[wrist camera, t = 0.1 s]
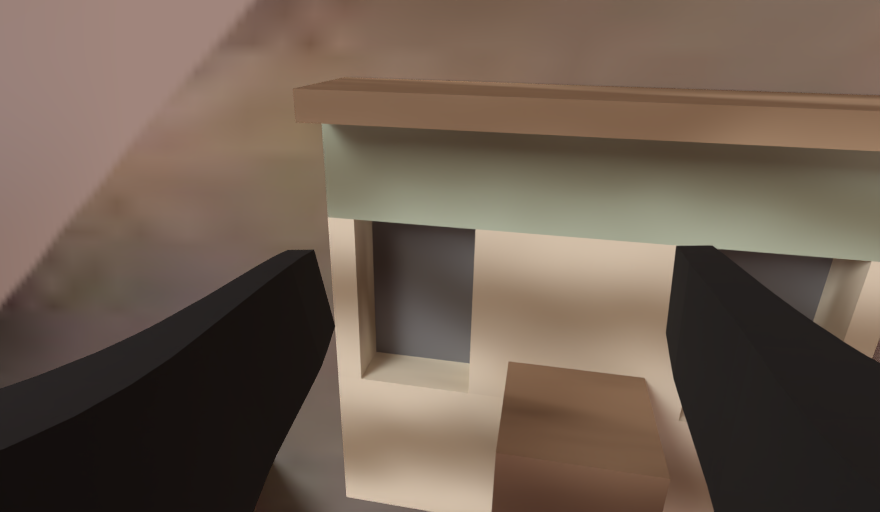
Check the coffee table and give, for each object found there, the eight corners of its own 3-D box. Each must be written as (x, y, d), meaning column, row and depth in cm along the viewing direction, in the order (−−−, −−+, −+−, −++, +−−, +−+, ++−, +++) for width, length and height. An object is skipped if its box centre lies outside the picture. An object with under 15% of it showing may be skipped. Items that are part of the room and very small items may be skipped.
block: (624, 481, 22) (642, 598, 17) (500, 462, 23) (487, 568, 18) (644, 377, 20) (670, 479, 16) (508, 361, 21) (495, 452, 16)
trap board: (768, 523, 24) (811, 622, 20) (363, 458, 28) (330, 532, 24) (913, 96, 17) (1024, 116, 13) (345, 77, 21) (292, 88, 16)
